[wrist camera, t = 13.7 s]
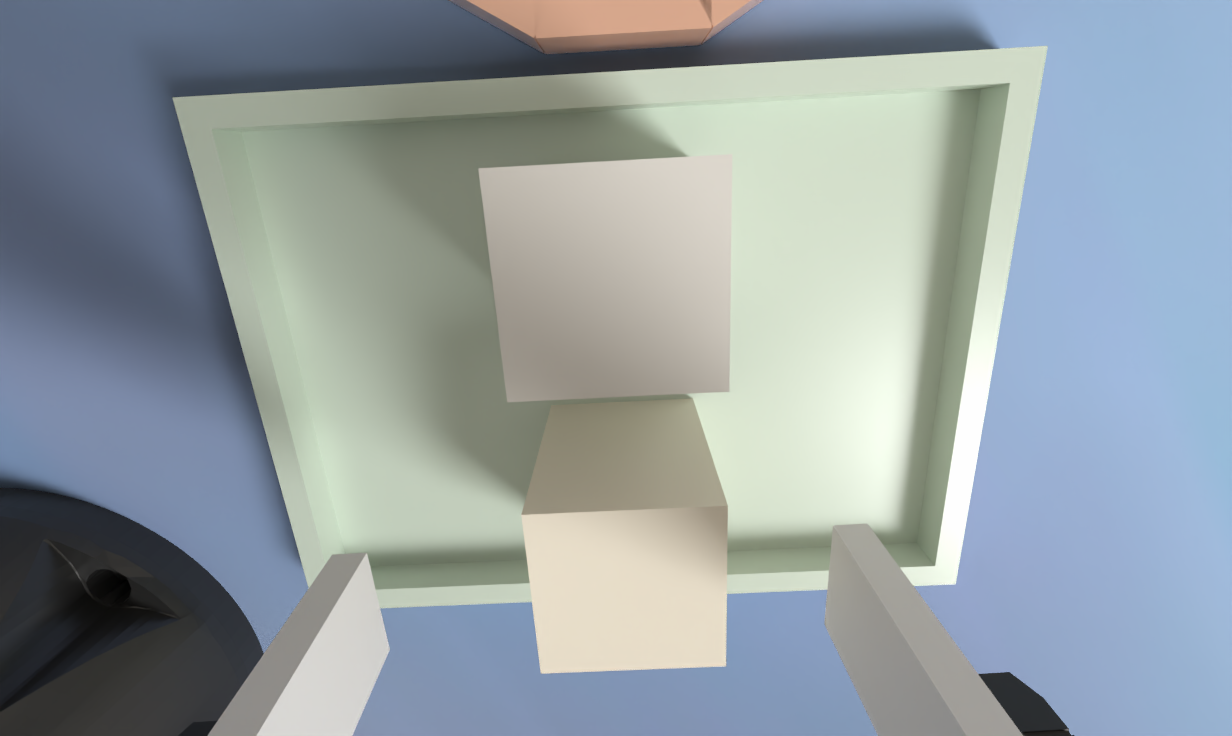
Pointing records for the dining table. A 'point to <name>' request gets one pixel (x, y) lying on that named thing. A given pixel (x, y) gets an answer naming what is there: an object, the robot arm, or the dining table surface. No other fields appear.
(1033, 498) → the dining table surface
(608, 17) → the bowl
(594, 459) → the cream rectangular block
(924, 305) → the parts tray
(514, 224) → the pale grey block
